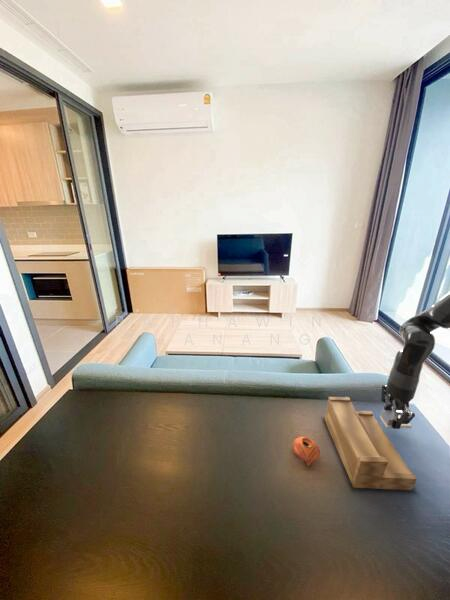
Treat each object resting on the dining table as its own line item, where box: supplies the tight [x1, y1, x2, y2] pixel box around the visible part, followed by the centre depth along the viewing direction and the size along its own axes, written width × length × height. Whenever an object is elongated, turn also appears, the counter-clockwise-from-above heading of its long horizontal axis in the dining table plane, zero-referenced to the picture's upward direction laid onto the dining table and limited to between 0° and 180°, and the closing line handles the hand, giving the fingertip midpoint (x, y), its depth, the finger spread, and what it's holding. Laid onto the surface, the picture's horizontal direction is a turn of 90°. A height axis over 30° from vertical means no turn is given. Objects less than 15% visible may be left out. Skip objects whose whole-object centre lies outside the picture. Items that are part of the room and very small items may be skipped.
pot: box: [292, 436, 321, 467], centre depth 75 cm, size 8×8×7 cm
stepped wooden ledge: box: [323, 396, 417, 491], centre depth 77 cm, size 16×23×11 cm
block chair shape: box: [379, 409, 413, 429], centre depth 84 cm, size 8×4×4 cm, turn 88°
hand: (390, 421), depth 84 cm, fingers closed on block chair shape, 4 cm apart
